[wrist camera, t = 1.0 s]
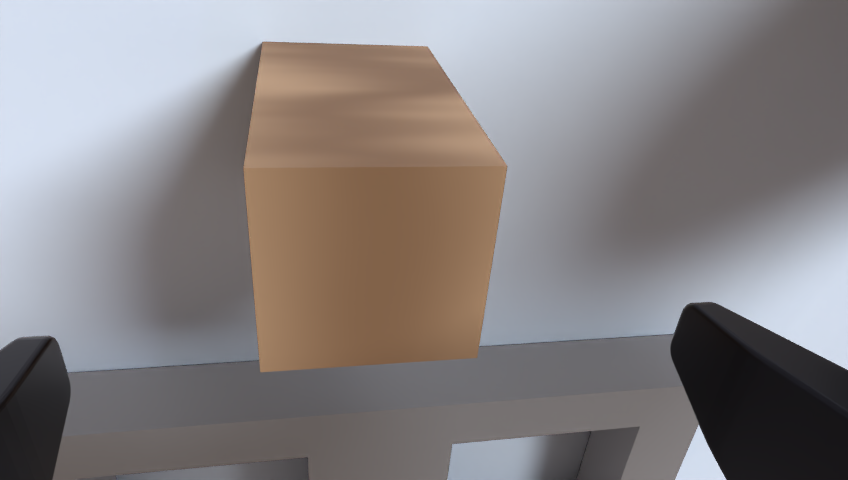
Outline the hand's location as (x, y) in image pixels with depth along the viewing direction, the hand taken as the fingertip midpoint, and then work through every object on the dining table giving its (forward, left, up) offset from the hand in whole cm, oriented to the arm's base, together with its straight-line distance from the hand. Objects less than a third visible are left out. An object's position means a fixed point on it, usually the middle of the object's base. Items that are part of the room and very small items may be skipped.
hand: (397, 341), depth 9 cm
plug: (0, 0, -9) cm, 9 cm away
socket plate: (-1, +15, -9) cm, 17 cm away
